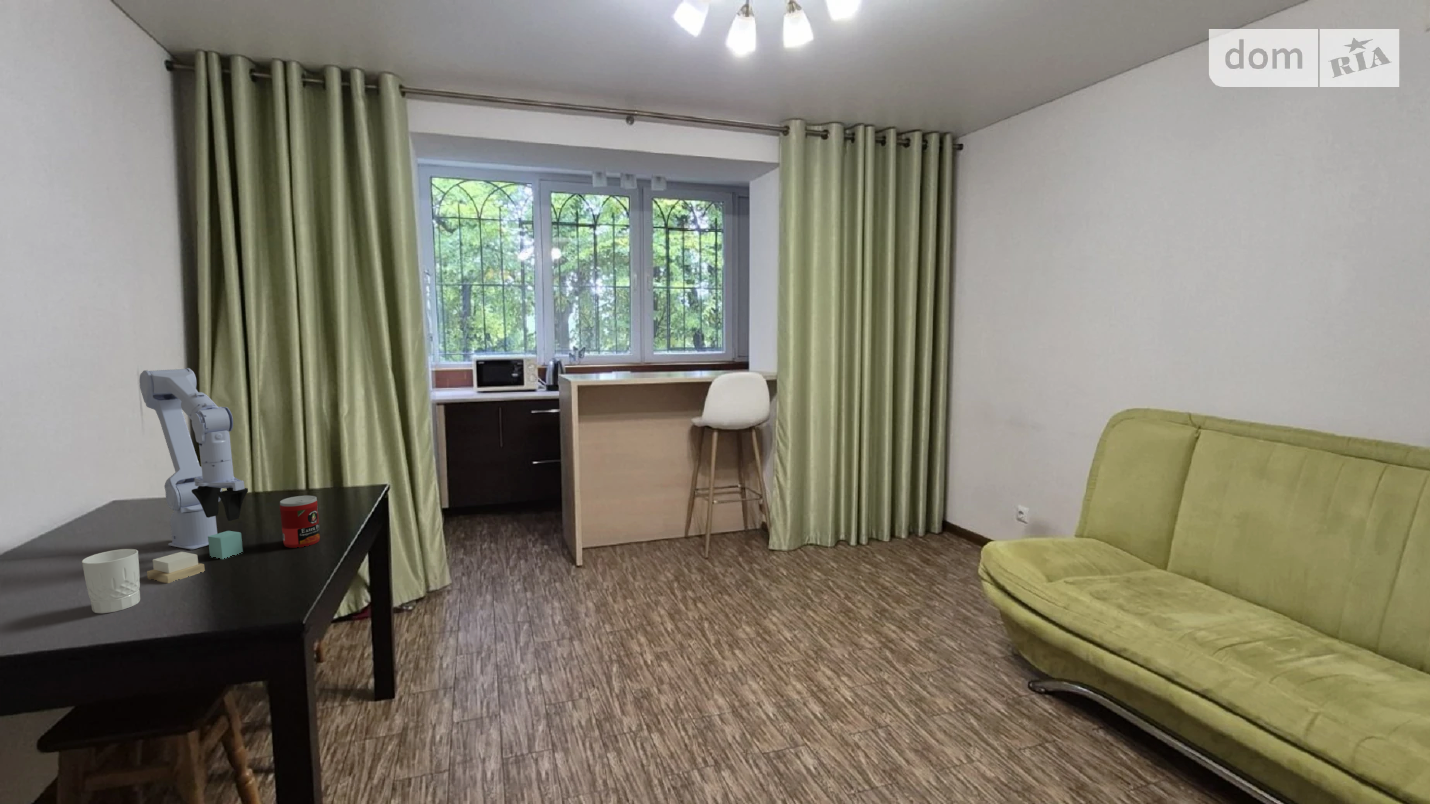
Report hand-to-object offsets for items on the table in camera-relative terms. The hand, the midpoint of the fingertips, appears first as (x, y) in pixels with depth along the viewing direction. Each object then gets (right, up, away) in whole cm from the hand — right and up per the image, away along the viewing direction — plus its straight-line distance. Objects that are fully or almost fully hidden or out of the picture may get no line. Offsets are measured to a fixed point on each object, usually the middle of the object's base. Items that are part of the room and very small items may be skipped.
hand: (222, 518), depth 151 cm
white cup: (0, -12, -27) cm, 29 cm away
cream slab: (-2, -9, -11) cm, 14 cm away
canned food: (+13, -8, +9) cm, 17 cm away
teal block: (0, -9, +1) cm, 9 cm away
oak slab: (-2, -11, -11) cm, 16 cm away
